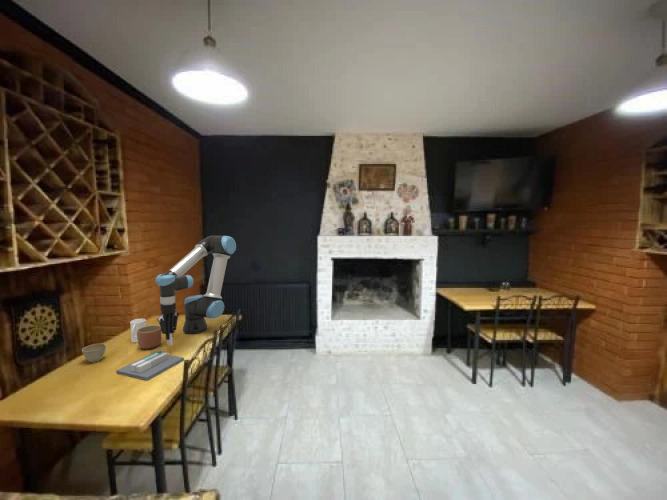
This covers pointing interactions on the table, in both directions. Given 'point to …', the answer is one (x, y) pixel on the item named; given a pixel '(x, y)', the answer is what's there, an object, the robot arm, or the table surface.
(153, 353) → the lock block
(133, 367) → the tong arm
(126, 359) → the table surface
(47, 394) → the table surface
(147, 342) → the planter
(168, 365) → the board
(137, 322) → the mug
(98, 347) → the grey bowl
